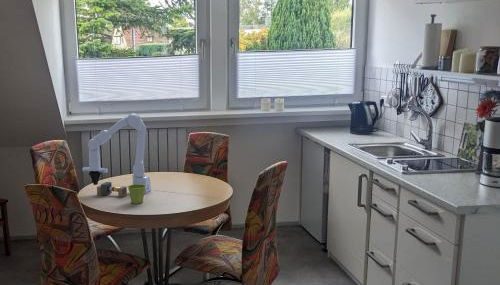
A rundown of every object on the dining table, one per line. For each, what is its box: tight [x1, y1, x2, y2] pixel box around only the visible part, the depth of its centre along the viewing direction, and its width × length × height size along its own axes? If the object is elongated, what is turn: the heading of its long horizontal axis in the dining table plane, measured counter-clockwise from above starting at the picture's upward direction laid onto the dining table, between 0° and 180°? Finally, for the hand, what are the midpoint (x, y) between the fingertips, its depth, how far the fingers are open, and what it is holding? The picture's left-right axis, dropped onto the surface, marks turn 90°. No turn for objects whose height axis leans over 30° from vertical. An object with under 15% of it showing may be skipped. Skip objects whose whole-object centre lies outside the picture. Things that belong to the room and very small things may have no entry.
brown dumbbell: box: [96, 184, 128, 198], centre depth 289 cm, size 15×5×5 cm, turn 74°
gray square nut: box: [100, 181, 113, 196], centre depth 290 cm, size 3×6×6 cm, turn 164°
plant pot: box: [127, 184, 146, 205], centre depth 275 cm, size 9×9×9 cm
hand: (95, 184), depth 291 cm, fingers closed
